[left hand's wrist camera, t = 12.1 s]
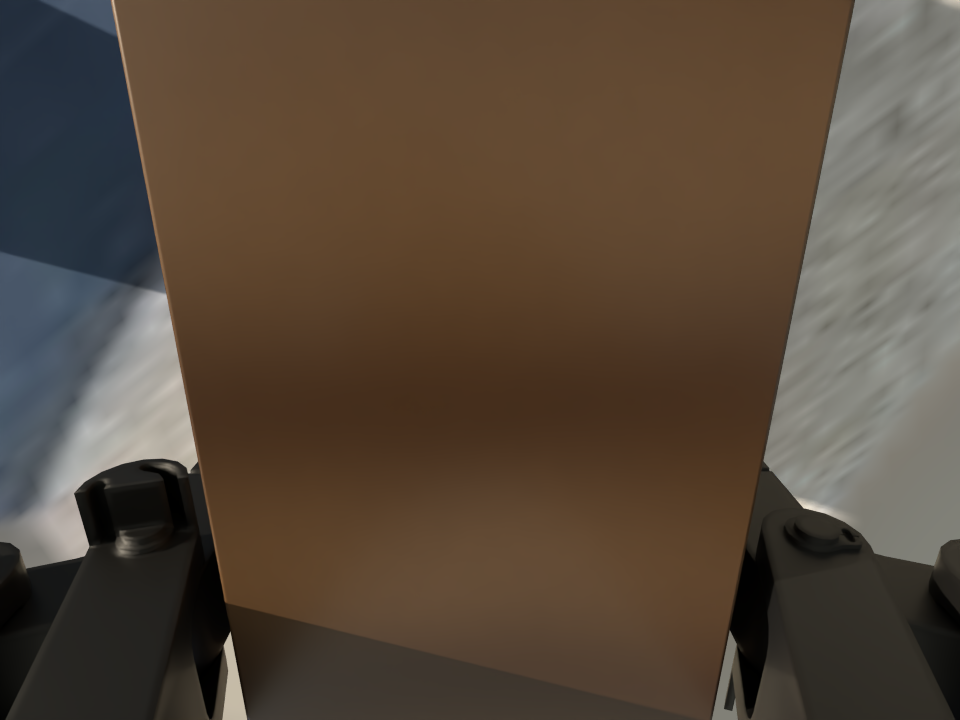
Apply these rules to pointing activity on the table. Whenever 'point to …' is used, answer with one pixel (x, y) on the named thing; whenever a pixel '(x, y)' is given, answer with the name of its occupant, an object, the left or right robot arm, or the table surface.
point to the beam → (481, 332)
